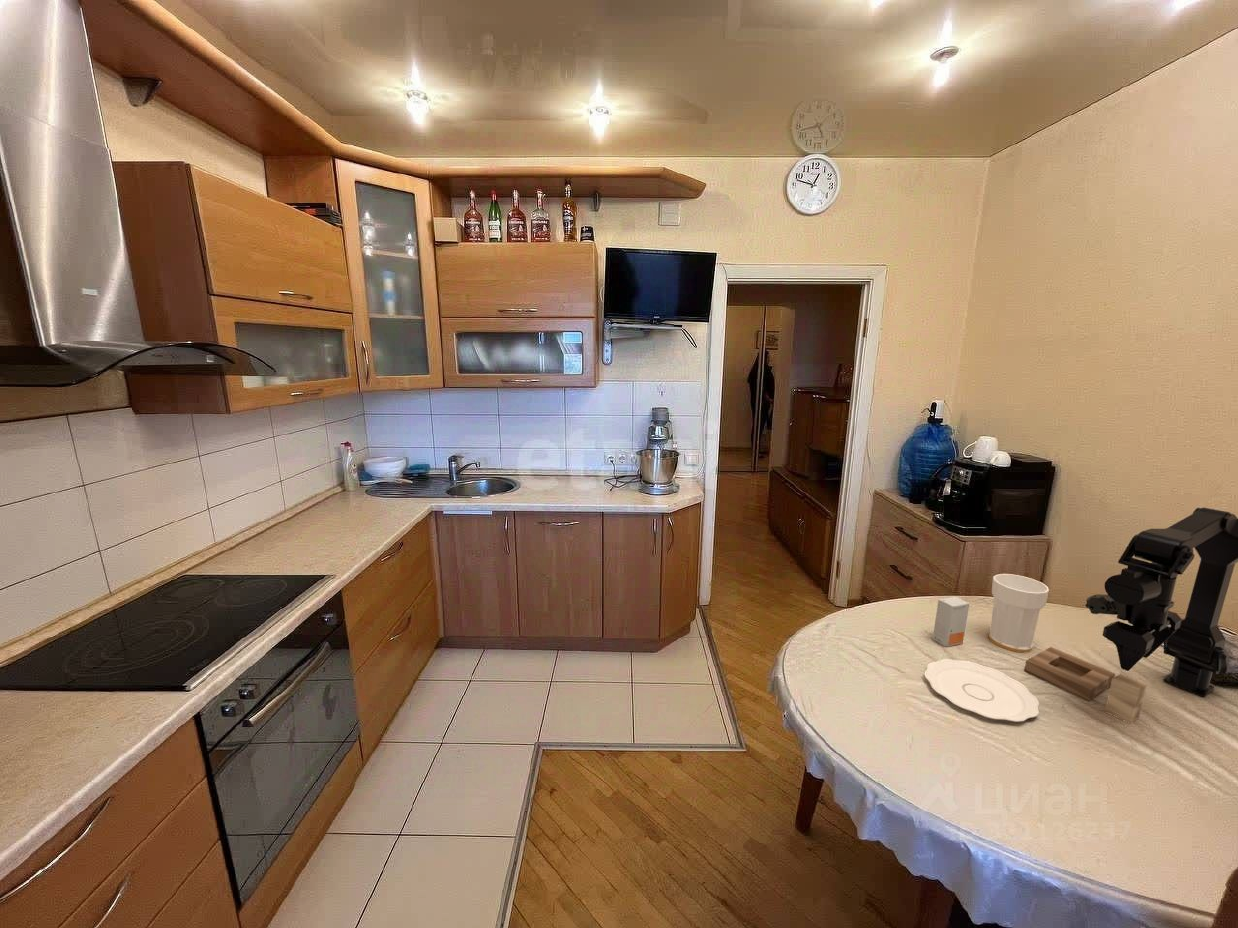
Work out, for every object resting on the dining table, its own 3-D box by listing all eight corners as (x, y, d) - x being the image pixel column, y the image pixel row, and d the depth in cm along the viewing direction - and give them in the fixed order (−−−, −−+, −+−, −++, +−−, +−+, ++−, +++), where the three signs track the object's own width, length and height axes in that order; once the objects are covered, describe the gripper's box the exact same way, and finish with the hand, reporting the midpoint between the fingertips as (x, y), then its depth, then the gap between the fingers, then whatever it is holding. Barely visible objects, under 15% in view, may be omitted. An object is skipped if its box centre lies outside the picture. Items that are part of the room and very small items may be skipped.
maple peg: (1113, 705, 104) (1120, 673, 103) (1138, 717, 101) (1146, 684, 99) (1104, 711, 103) (1112, 678, 101) (1130, 723, 99) (1138, 690, 97)
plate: (1062, 733, 97) (1063, 726, 97) (948, 719, 101) (949, 712, 101) (1003, 670, 117) (1004, 664, 117) (910, 660, 121) (911, 654, 121)
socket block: (1048, 657, 121) (1050, 646, 121) (1112, 684, 111) (1115, 673, 110) (1024, 671, 116) (1026, 660, 116) (1088, 701, 106) (1091, 689, 105)
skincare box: (946, 647, 126) (952, 606, 124) (932, 639, 130) (937, 598, 128) (964, 644, 128) (970, 603, 125) (949, 635, 132) (955, 595, 129)
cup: (1049, 655, 122) (1061, 592, 119) (1005, 655, 123) (1015, 593, 119) (1014, 630, 133) (1024, 573, 130) (973, 631, 134) (982, 573, 130)
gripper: (1115, 569, 107) (1102, 632, 110) (1076, 588, 99) (1063, 655, 102) (1190, 589, 97) (1173, 657, 100) (1153, 612, 89) (1136, 685, 92)
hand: (1134, 662), depth 99 cm, fingers open, 9 cm apart
